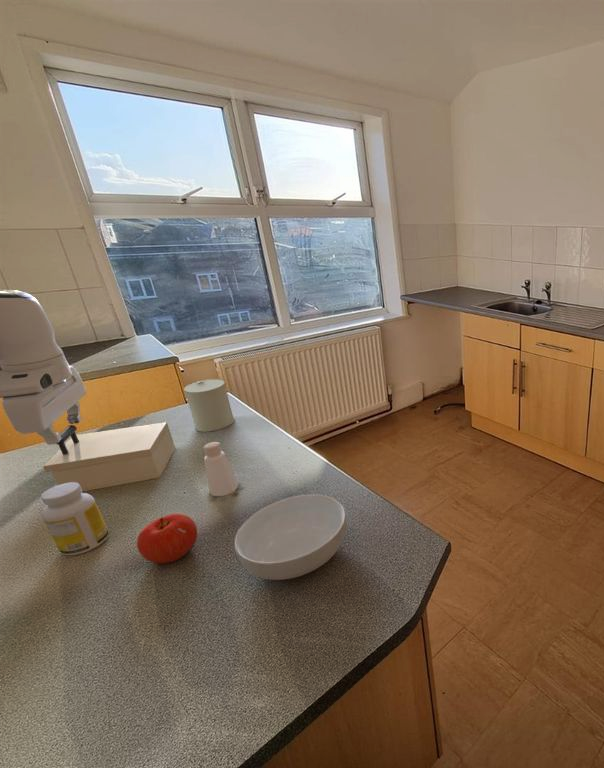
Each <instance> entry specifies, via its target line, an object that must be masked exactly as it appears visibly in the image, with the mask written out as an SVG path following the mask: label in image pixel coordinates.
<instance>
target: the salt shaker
mask: <svg viewBox="0 0 604 768" xmlns="http://www.w3.org/2000/svg"><path fill="white" fill-rule="evenodd" d="M203 450H204V452H205V456H204V457H203V461H204V468H205V474H206V480H207V486H208V492H209V493H210V495H211V496H212V497H225V496H227V495H229V494H233V493H234V492H235V491H236V490H237V488H239V487H240V485H239V482H238V481H237V478H236V475H235V473H234V471H233V469H232V466H231V464H230V462H229V459H228V457H227V454H226V453H225V451H223V450H222V448H221V443H220V442H218V441H212V442H208V443H206V444H205V445H204V446H203Z"/></svg>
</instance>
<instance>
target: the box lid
mask: <svg viewBox="0 0 604 768" xmlns="http://www.w3.org/2000/svg"><path fill="white" fill-rule="evenodd" d="M168 428H169V425H168V422H167V421H163V422H157V423H151V424H144V425H136V426H129V427H123V428H115V429H109V430H108V429H107V430H103V431H102V430H101V431H94V432H87V433H81V434H80V433H79V434H77V433H76V432H77V430H78V428H77V426H76V425H75V424H70V425H67V426H66V427H65V428H64V429H63V430H62V431H61V432H59V434H60V437H61V438H62V439H61V440H60V441H59V442H58V443H57V444H56V445H58V447H59V449H58V451H56V453H55V454H54V455H53V456H51V458H49V460H48V461H46V462H45V464H43V466H42V468H43V470H44V472H45V473H52V471H58V470H64V469H70V468H76V467H82V466H88V465H94V464H100V463H106V462H113V461H119V460H125V459H131V458H137V457H143V456H149V455H152V454H153V452H154V450H155V449H156V447H157V446H158V444H159V442H160V441H161V439H162V437H163V436H164V434H165V432H166V431H167V429H168ZM66 441H67V442H66Z"/></svg>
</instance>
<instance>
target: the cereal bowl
mask: <svg viewBox="0 0 604 768" xmlns="http://www.w3.org/2000/svg"><path fill="white" fill-rule="evenodd" d="M347 522H348V521H347V514H346V509H345V507H344V506H343V505H342V503H341V502H339V501H338V500H337V499H335V498H333V497H330V496H328V495H323V494H302V495H295V496H290V497H286V498H283V499H281V500H277V501H275V502H273V503H271V504H269V505H266V506H265V507H263V508H260V509H259V510H258V511H256V512H255V513H254V514H252V515H251V516H250V517H249V518H248V519H246V521H245V522H243V524H242V525H241V526H240V528H239V529H238V530H237V532H236V535H235V539H234V550H235V553H236V556H237V559H238V560H239V563H240V564H241V566H242V567H243V568H244V569H245V570H246V571H247V572H248V573H250V574H251V575H254V576H255V577H258V578H261V579H264V580H271V581H284V580H291V579H295V578H299V577H302V576H304V575H307V574H310V573H312V572H313V571H315V570H317V569H319V568H320V567H321V566H324V564H326V563H327V562H328V561H330V560H331V558H333V557H334V555H336V553H337V552H338V551H339V549H340V547H341V545H342V544H343V542H344V539H345V536H346V533H347V532H346V531H347V526H348V525H347Z"/></svg>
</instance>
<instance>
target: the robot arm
mask: <svg viewBox="0 0 604 768" xmlns="http://www.w3.org/2000/svg"><path fill="white" fill-rule="evenodd" d="M55 333H56V332H55V330H54V328H53V325H52V323H51V321H50V319H49V317H48V315H47V313H46V311H45V310H44V308H43V307H42V305H41V304H40V302H39V301H38V300H37V298H36V297H34V296H33V295H32V294H30V293H27V292H25V291H21V290H16V289H7V288H6V289H5V288H4V289H3V288H0V368H1V370H0V398H1V406H2V408H3V411H4V413H5V415H6V416H7V418H8V421H9V422H10V424H11V425H12V427H13V429H14V430H15V431H16V432H18V433H19V434H22V435H27V434H28V435H29V434H35V433H36V434H38V435H39V436H41V437H42V438H43V439H44V441H45V443H46V444H47V445H49V446H51V445H58V444H57V443H58V442H59V441H60V440H61V439H62V438H61V437H60V432H56V431H55V430H54V425H53V424H54V423H55V422H56V421H57V420H58V419H59V418H61V417H62V416H63V415H64V414H67V416H66V417H65V418H66V420H67V423H68V424H70V425H75V424H79V423H80V422H81V421H82V420H83V417H82V415H81V405H80V400H81V399H83V397H85V396H86V395H87V388H86V385H85V382H84V381H83V379H82V377H81V376H80V374H79V371H78V370H77V369H76V368H75V366H72V365H70V363H69V362H68V361H67V358H66V355H65V354H64V351H63V349H62V348H61V347H60V346H59V345H58V343H57V341H56V338H55V337H56V335H55Z"/></svg>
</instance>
